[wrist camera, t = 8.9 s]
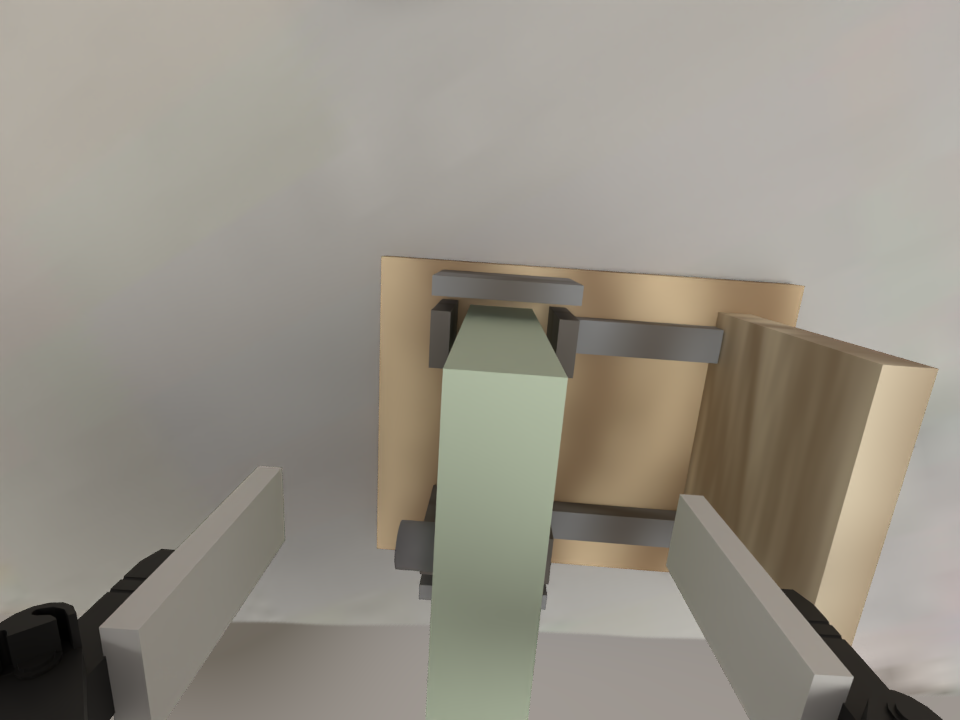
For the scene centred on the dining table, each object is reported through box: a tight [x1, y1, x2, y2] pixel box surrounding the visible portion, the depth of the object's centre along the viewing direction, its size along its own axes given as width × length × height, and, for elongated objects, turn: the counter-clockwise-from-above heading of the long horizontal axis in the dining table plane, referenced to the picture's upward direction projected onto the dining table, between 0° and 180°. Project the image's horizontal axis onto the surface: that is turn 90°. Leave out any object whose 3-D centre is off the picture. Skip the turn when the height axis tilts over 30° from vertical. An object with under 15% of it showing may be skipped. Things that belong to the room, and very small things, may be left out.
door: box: [395, 304, 568, 720], centre depth 19 cm, size 4×12×12 cm, turn 176°
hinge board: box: [377, 256, 938, 646], centre depth 20 cm, size 20×16×11 cm
